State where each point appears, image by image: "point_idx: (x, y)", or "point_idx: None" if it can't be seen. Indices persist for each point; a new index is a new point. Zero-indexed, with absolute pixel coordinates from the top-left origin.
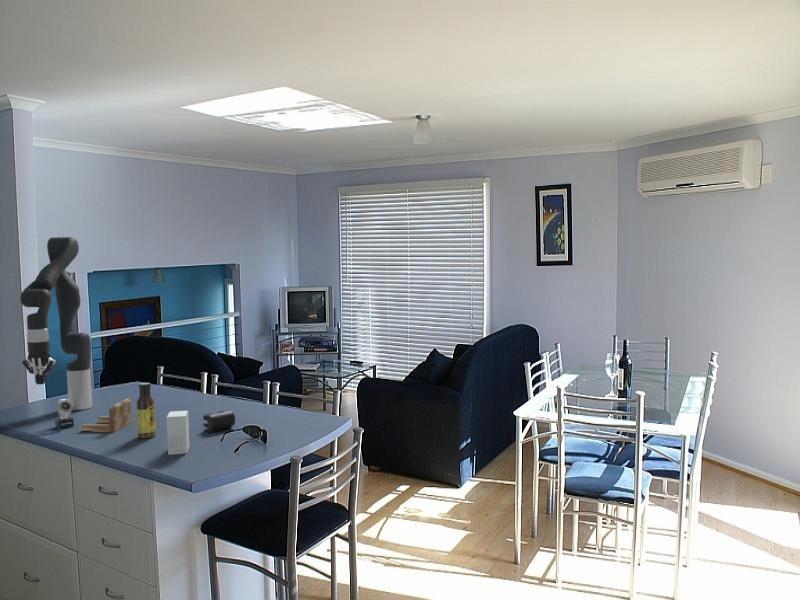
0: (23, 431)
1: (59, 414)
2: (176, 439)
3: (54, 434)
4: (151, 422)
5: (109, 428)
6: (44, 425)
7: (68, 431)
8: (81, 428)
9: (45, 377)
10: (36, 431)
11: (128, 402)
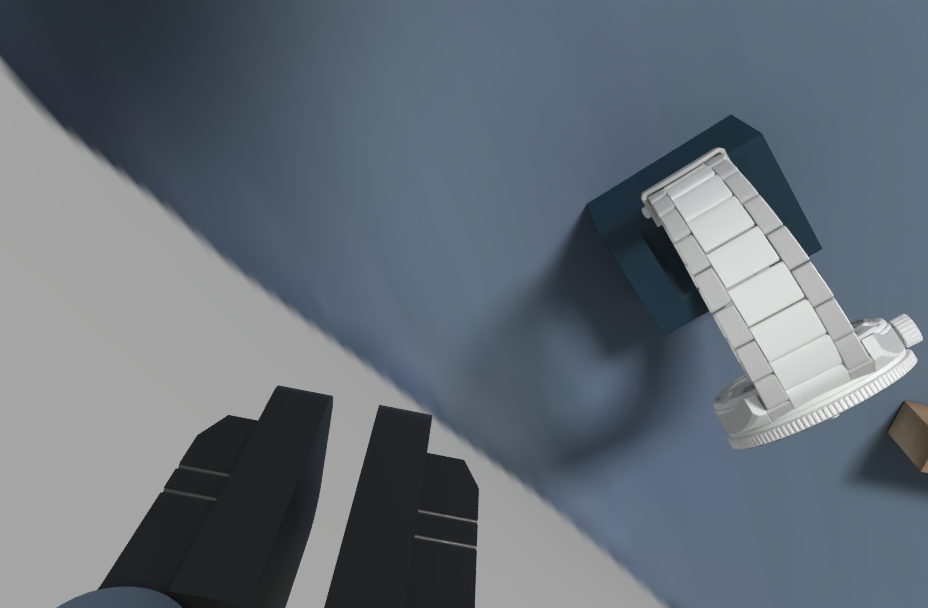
0: (317, 317)
1: (657, 221)
2: None
3: (657, 469)
4: None
5: None
6: (434, 101)
7: None
8: (909, 453)
9: (475, 576)
10: (448, 340)
11: None
